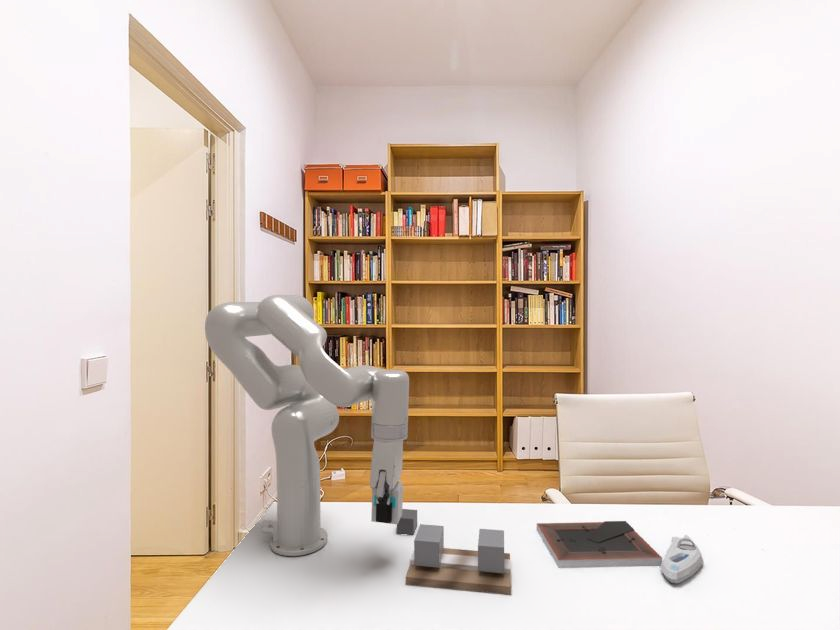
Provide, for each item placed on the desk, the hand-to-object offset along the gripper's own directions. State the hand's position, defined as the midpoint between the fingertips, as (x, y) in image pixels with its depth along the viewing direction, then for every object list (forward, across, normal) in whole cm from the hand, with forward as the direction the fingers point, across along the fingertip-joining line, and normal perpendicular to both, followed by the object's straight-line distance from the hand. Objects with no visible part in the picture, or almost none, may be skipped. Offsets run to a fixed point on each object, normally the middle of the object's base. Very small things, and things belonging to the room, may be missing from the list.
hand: (386, 515), depth 101 cm
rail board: (+9, +1, +16) cm, 18 cm away
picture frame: (+9, -14, +44) cm, 48 cm away
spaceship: (+8, -11, +61) cm, 62 cm away
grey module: (+1, 0, 0) cm, 1 cm away
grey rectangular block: (+10, -15, +2) cm, 18 cm away
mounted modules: (+7, +1, +16) cm, 17 cm away
